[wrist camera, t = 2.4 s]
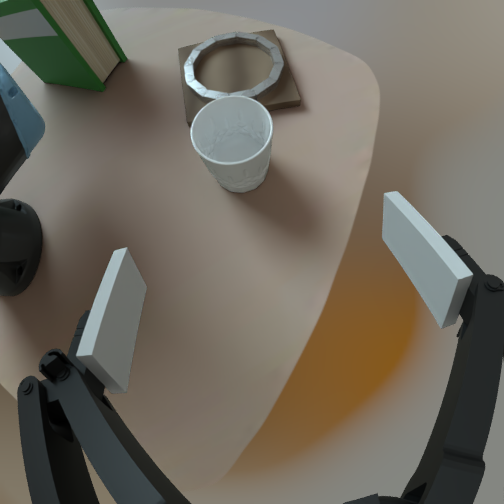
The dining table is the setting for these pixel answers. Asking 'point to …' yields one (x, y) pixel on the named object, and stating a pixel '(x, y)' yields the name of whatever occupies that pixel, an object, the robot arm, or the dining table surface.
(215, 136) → the white cup
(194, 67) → the ring holder
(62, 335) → the dining table surface
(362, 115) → the dining table surface
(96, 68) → the hardback book
